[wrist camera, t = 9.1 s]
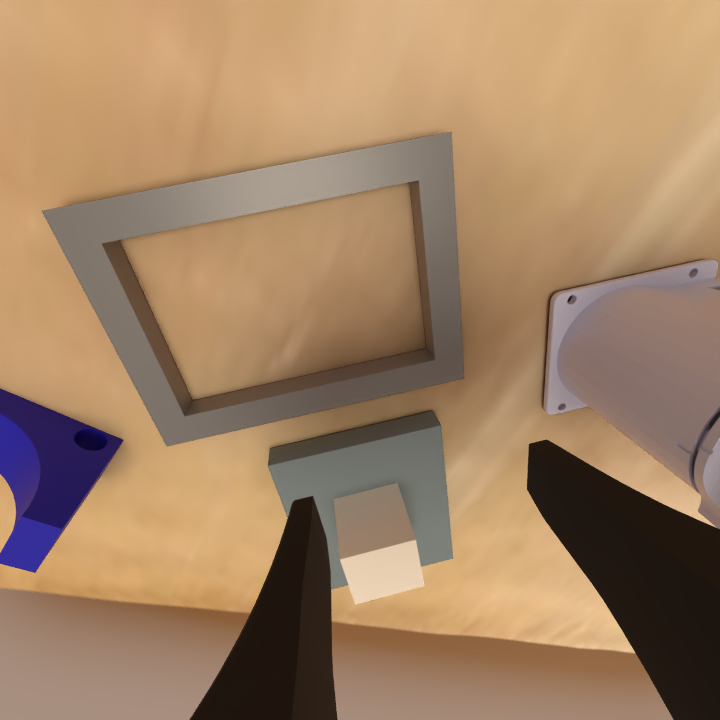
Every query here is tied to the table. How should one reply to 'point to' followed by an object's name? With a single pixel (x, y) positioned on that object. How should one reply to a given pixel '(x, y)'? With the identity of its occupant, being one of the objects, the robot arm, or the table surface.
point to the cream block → (377, 544)
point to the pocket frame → (251, 195)
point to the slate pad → (372, 479)
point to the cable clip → (46, 474)
